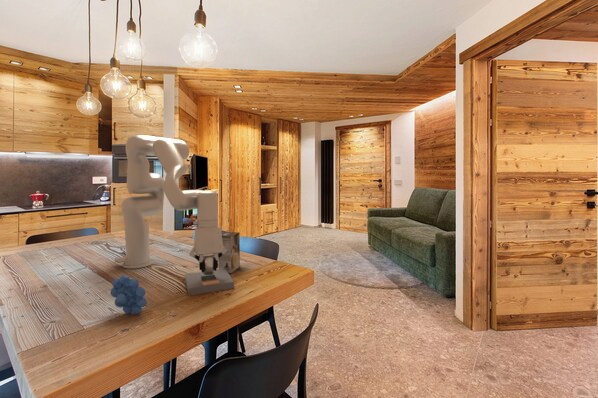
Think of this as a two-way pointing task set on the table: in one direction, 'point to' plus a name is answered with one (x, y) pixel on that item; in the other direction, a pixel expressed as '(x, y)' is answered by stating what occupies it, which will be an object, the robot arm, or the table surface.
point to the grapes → (128, 294)
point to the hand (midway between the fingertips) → (208, 270)
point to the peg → (208, 264)
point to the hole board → (208, 282)
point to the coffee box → (230, 252)
